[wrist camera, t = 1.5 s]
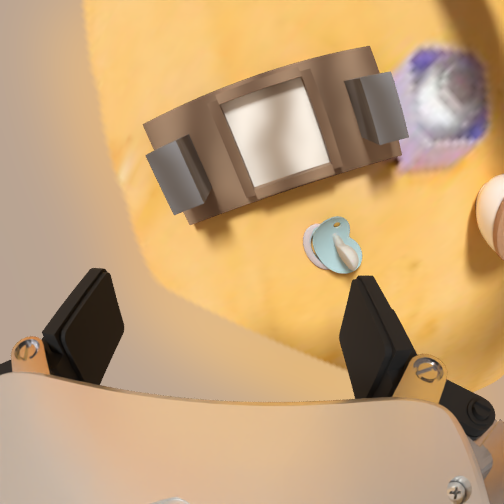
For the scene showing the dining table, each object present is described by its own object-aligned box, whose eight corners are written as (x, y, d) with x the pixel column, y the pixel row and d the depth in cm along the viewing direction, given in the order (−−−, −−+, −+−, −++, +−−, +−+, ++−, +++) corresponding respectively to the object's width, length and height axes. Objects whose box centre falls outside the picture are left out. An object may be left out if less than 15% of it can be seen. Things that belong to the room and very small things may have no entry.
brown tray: (364, 47, 24) (389, 38, 18) (396, 152, 29) (424, 166, 24) (147, 123, 29) (122, 130, 23) (192, 219, 34) (179, 246, 28)
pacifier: (319, 275, 37) (362, 253, 35) (327, 307, 32) (377, 283, 30) (291, 228, 34) (338, 204, 33) (296, 256, 29) (352, 227, 27)
